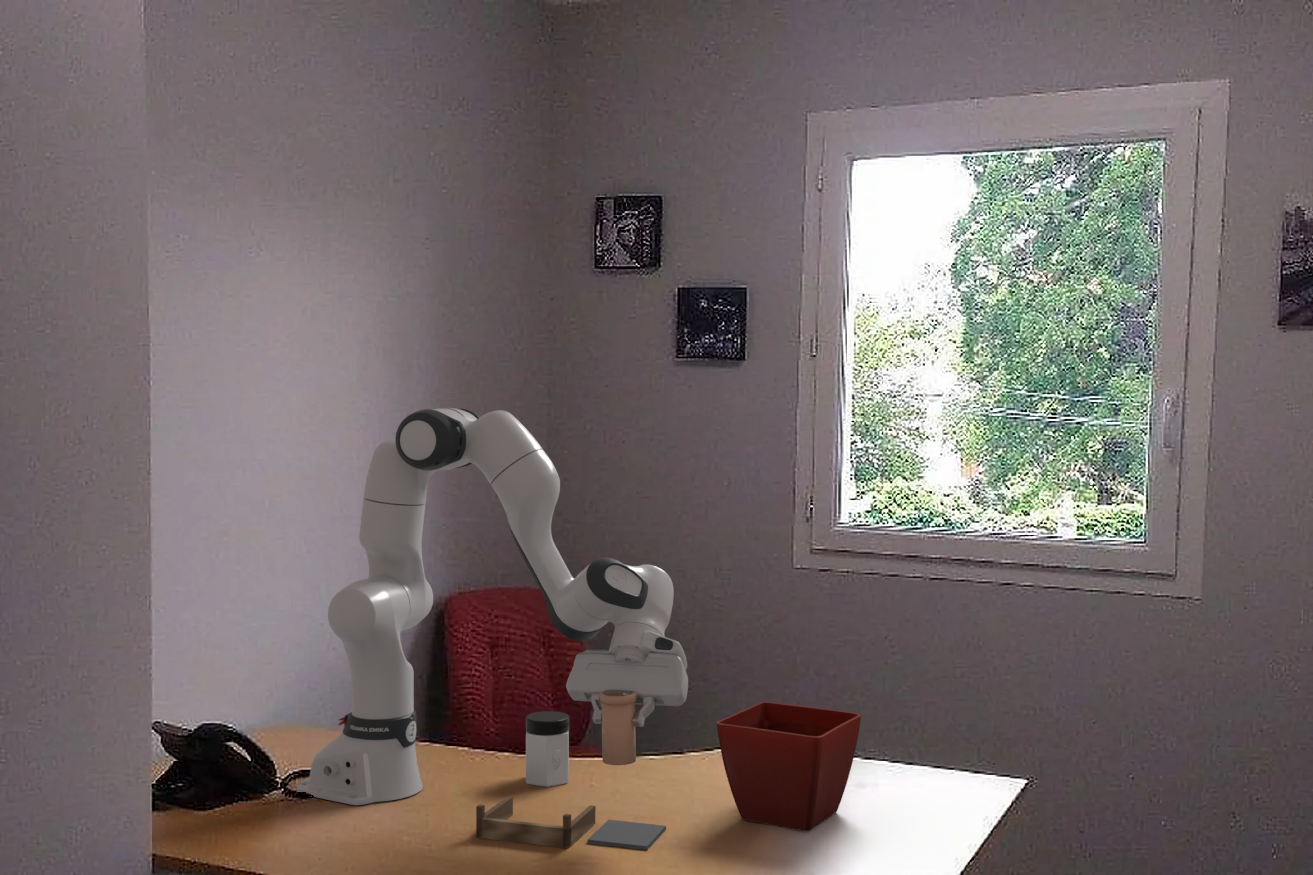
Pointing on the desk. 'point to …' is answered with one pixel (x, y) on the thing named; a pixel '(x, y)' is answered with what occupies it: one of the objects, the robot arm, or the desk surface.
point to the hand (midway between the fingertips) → (617, 723)
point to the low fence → (531, 826)
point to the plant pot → (788, 762)
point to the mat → (627, 834)
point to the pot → (618, 726)
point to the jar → (547, 748)
